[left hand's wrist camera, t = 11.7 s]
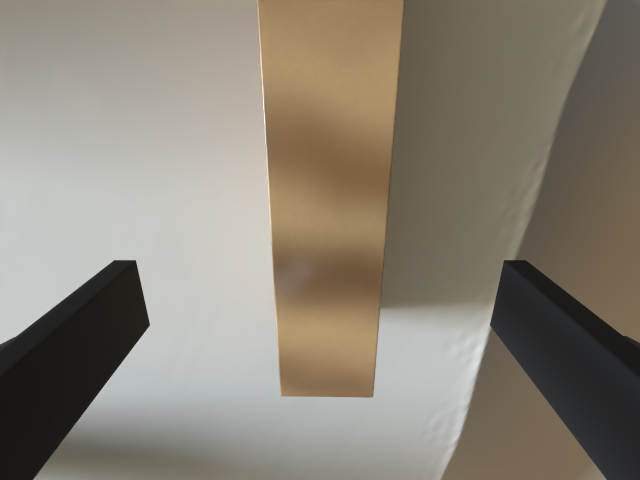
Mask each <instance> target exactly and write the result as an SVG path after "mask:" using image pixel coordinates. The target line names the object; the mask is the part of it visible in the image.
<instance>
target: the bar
mask: <svg viewBox="0 0 640 480" xmlns="http://www.w3.org/2000/svg"><path fill="white" fill-rule="evenodd" d="M404 3H405V0H257V11H258V27H259V44H260V60H261V77H262V93H263V110H264V126H265V143H266V160H267V176H268V193H269V209H270V226H271V242H272V259H273V275H274V292H275V309H276V325H277V342H278V358H279V375H280V391H281V396H311V397H373V391H374V378H375V366H376V353H377V341H378V328H379V316H380V303H381V291H382V278H383V265H384V253H385V240H386V228H387V215H388V203H389V190H390V178H391V165H392V153H393V140H394V128H395V115H396V103H397V90H398V78H399V65H400V53H401V40H402V28H403V15H404Z"/></svg>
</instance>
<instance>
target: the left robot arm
mask: <svg viewBox="0 0 640 480" xmlns="http://www.w3.org/2000/svg"><path fill="white" fill-rule="evenodd" d="M149 326H150V323H149V319H148V314H147V309H146V305H145V300H144V296H143V291H142V287H141V282H140V277H139V273H138V268H137V264H136V260H114V261H113V262H112V263H110V264H109V265H108V266H106V267H105V268H104V269H103V270H101V271H100V272H99V273H97V274H96V275H95V276H94V277H92V278H91V279H90V280H88V281H87V282H86V283H85V284H83V285H82V286H81V287H79V288H78V289H77V290H76V291H74V292H73V293H72V294H70V295H69V296H68V297H67V298H65V299H64V300H63V301H61V302H60V303H59V304H58V305H56V306H55V307H54V308H52V309H51V310H50V311H49V312H47V313H46V314H45V315H43V316H42V317H41V318H40V319H38V320H37V321H36V322H34V323H33V324H32V325H31V326H29V327H28V328H27V329H25V330H24V331H23V332H22V333H20V334H19V335H18V336H16V337H14V338H12V339H10V340H8V341H6V342H4V343H2V344H1V345H0V480H33V479H34V478H35V476H36V475H37V474H38V472H39V471H40V470H41V468H42V467H43V466H44V464H45V463H46V462H47V460H48V459H49V458H50V456H51V455H52V454H53V453H54V451H55V450H56V449H57V447H58V446H59V445H60V443H61V442H62V441H63V439H64V438H65V437H66V435H67V434H68V433H69V431H70V430H71V429H72V427H73V426H74V425H75V423H76V422H77V421H78V420H79V418H80V417H81V416H82V414H83V413H84V412H85V410H86V409H87V408H88V406H89V405H90V404H91V402H92V401H93V400H94V398H95V397H96V396H97V394H98V393H99V392H100V390H101V389H102V388H103V386H104V385H105V384H106V383H107V381H108V380H109V379H110V377H111V376H112V375H113V373H114V372H115V371H116V369H117V368H118V367H119V365H120V364H121V363H122V361H123V360H124V359H125V357H126V356H127V355H128V353H129V352H130V351H131V349H132V348H133V347H134V346H135V344H136V343H137V342H138V340H139V339H140V338H141V336H142V335H143V334H144V332H145V331H146V330H147V328H148V327H149ZM490 326H491V327H492V328H493V330H494V331H495V332H496V334H497V335H498V336H499V338H500V339H501V340H502V341H503V343H504V344H505V346H506V347H507V348H508V349H509V351H510V352H511V353H512V355H513V356H514V357H515V359H516V360H517V361H518V363H519V364H520V365H521V367H522V368H523V369H524V371H525V372H526V373H527V375H528V376H529V377H530V378H531V380H532V381H533V383H534V384H535V385H536V386H537V388H538V389H539V390H540V392H541V393H542V394H543V396H544V397H545V398H546V400H547V401H548V402H549V404H550V405H551V406H552V408H553V409H554V410H555V412H556V413H557V414H558V415H559V417H560V418H561V420H562V421H563V422H564V423H565V425H566V426H567V427H568V429H569V430H570V431H571V433H572V434H573V435H574V437H575V438H576V439H577V440H578V442H579V443H580V445H581V446H582V447H583V449H584V450H585V451H586V452H587V454H588V455H589V456H590V458H591V459H592V460H593V462H594V463H595V464H596V466H597V467H598V468H599V470H600V471H601V472H602V474H603V475H604V476H605V478H606V479H607V480H640V343H639V342H637V341H635V340H633V339H631V338H629V337H627V336H622V335H621V334H620V333H618V332H617V331H616V330H615V329H613V328H612V327H611V326H609V325H608V324H607V323H606V322H604V321H603V320H602V319H600V318H599V317H598V316H597V315H595V314H594V313H593V312H591V311H590V310H589V309H588V308H586V307H585V306H584V305H582V304H581V303H580V302H578V301H577V300H576V299H575V298H573V297H572V296H571V295H570V294H568V293H567V292H566V291H564V290H563V289H562V288H560V287H559V286H558V285H557V284H555V283H554V282H553V281H552V280H550V279H549V278H548V277H546V276H545V275H544V274H543V273H541V272H540V271H539V270H537V269H536V268H535V267H534V266H532V265H531V264H530V263H528V262H527V261H526V260H504V264H503V268H502V273H501V277H500V282H499V287H498V291H497V296H496V300H495V305H494V309H493V314H492V319H491V323H490Z"/></svg>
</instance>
